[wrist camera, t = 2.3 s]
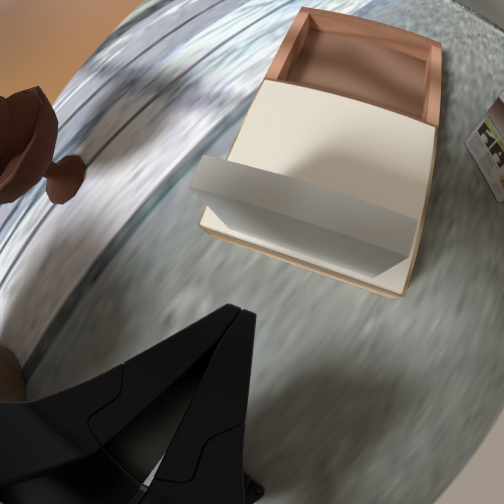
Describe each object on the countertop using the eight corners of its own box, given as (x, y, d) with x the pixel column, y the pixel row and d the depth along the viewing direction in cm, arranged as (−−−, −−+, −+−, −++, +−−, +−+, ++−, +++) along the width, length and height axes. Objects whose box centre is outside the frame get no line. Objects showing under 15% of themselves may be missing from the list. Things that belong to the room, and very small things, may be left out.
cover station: (392, 299, 20) (404, 296, 18) (211, 236, 24) (197, 225, 21) (433, 62, 23) (441, 43, 20) (303, 27, 27) (301, 6, 24)
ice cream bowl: (110, 120, 28) (21, 30, 14) (100, 221, 26) (-33, 153, 11) (41, 149, 30) (-46, 89, 15) (28, 239, 27) (-84, 198, 13)
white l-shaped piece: (399, 293, 17) (452, 280, 10) (202, 226, 20) (148, 180, 13) (432, 131, 19) (469, 64, 11) (265, 84, 22) (247, 9, 14)
